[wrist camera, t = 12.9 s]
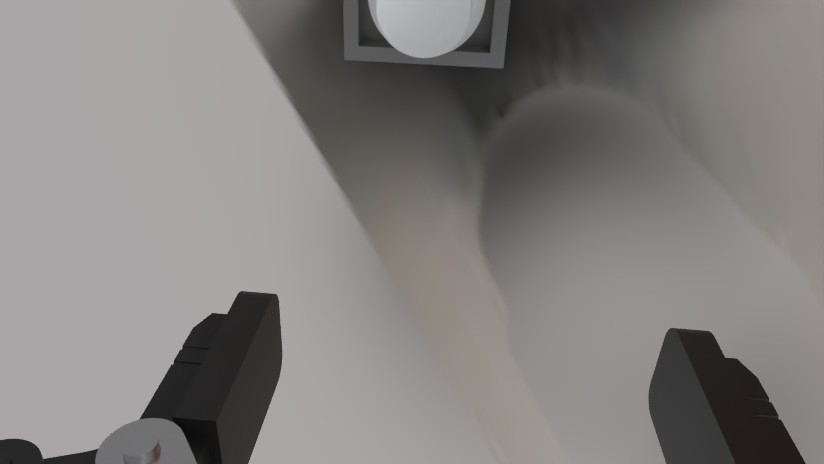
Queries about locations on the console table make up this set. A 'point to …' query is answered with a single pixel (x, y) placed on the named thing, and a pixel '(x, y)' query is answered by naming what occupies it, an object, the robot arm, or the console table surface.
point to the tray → (474, 52)
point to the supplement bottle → (426, 24)
